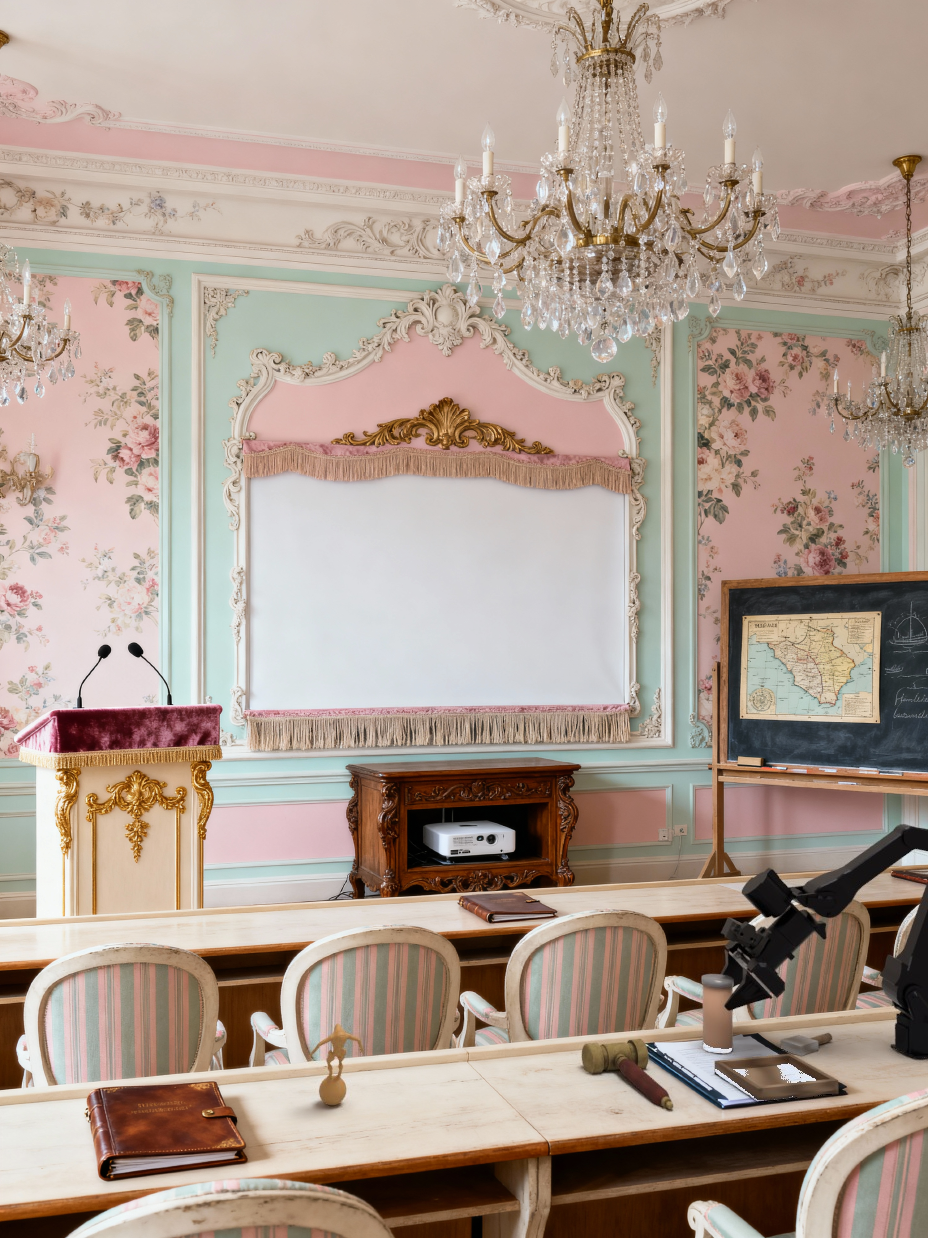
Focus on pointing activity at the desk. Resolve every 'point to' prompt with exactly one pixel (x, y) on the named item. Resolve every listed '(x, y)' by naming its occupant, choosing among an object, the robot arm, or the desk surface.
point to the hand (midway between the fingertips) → (719, 1001)
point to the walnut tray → (776, 1077)
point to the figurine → (334, 1086)
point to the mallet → (804, 1043)
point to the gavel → (626, 1066)
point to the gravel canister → (717, 1011)
